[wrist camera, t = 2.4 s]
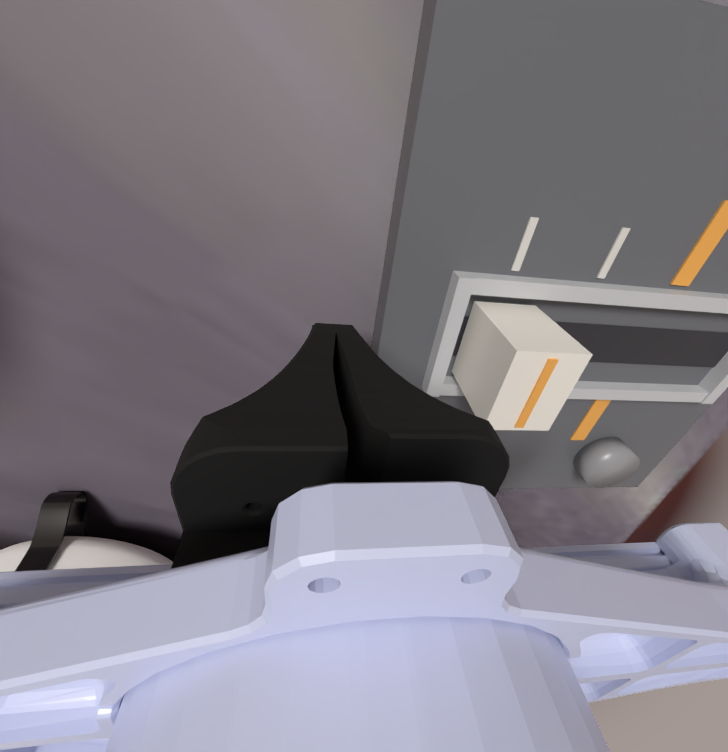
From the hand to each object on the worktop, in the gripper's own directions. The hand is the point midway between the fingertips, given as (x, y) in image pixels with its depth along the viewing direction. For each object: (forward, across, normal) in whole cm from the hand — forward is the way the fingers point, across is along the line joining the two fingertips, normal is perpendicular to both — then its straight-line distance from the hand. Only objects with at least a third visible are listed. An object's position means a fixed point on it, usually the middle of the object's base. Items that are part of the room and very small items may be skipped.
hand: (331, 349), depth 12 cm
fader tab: (+1, -7, 0) cm, 7 cm away
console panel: (+3, -11, 0) cm, 11 cm away
